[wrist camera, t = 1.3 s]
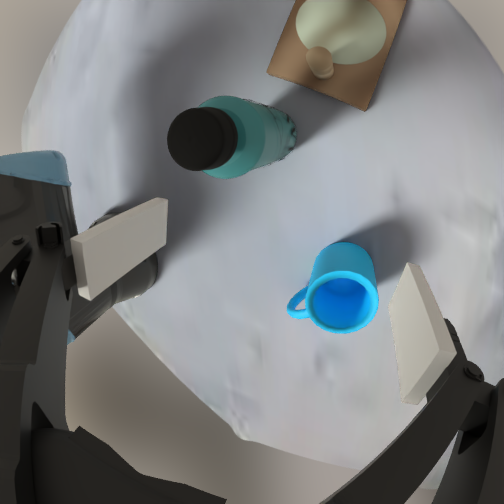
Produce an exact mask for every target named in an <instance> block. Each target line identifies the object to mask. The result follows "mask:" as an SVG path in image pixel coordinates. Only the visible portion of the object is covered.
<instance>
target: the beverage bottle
mask: <svg viewBox="0 0 504 504" xmlns="http://www.w3.org/2000/svg"><path fill="white" fill-rule="evenodd" d="M245 100H246V99H241V98H238V97H234V96H218V97H214V98H211V99H209V100H207V101H205V102H204V103H202V104H201V105H200V106H199V107H198V108H191V109H188V110H186V111H184V112H182V113H180V114H179V115H178V116H177V117H176V118H175V119H174V121H173V122H172V124H171V126H170V128H169V131H168V137H167V143H168V149H169V152H170V154H171V156H172V158H173V159H174V160H175V162H176V163H177V164H179V165H180V166H181V167H183V168H185V169H188V170H192V171H201V170H202V171H203V172H204V173H206V174H208V175H210V176H213V177H216V178H221V179H230V178H235V177H239V176H241V175H243V174H245V173H247V172H249V171H251V170H253V169H255V168H258V167H262V166H264V165H267V164H270V165H271V163H272V162H274V161H277V160H279V159H280V160H283V159H284V157H285V156H287V155H288V154H289V153H290V152H291V151H292V149H293V150H294V148H293V147H294V145H295V142H296V134H297V131H296V129H295V128H296V127H295V126H294V124H295V123H294V121H293V122H292V121H291V120H292V119H290V117H289V116H288V115H287V114H284V113H283V112H281V111H278V110H276V109H274V107H273V109H272V108H271V106H270V108H269V107H268V105H267V106H266V105H262V103H260V104H261V105H260V104H258V103H257V104H256V102H255V103H253V102H250V100H247V101H245ZM251 101H252V100H251ZM293 123H294V124H293ZM296 143H297V142H296ZM295 146H296V145H295ZM287 157H288V156H287ZM282 158H283V159H282ZM280 160H279V161H280ZM277 162H278V161H277Z"/></svg>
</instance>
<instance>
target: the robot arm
mask: <svg viewBox="0 0 504 504" xmlns="http://www.w3.org/2000/svg"><path fill="white" fill-rule="evenodd" d="M70 186H71V182H70V181H69V176H68V170H67V164H66V159H65V157H64V156H63V154H62V153H60V152H58V151H54V150H48V151H33V152H24V153H16V154H9V155H4V156H0V504H225V502H226V500H227V499H224V498H221V497H218V496H215V495H212V494H210V493H207V492H204V491H201V490H199V489H196V488H194V487H191V486H188V485H186V484H182V483H177V482H172V481H167V480H163V479H158V478H154V477H150V476H146V475H143V474H140V473H139V472H137V471H136V470H135V469H134V468H133V467H132V466H130V465H129V464H128V463H127V462H126V461H125V460H124V459H123V458H122V457H121V456H120V455H119V454H117V453H116V452H115V451H114V450H113V449H112V448H111V447H110V446H109V445H107V444H106V443H105V442H103V441H101V440H100V439H98V438H97V437H95V436H94V435H92V434H91V433H89V432H87V431H86V430H85V429H83V428H82V427H80V426H79V427H78V428H77V429H76V430H75V432H72V431H69V429H68V426H67V423H66V417H65V369H66V349H67V345H68V344H69V343H71V342H74V340H75V339H76V338H77V337H78V336H79V335H80V334H81V333H82V332H83V331H85V330H86V329H87V328H88V327H89V326H90V325H91V324H92V323H93V322H94V321H96V320H97V319H98V318H99V317H100V316H101V315H102V314H103V313H105V312H106V311H107V310H108V309H109V308H111V307H112V306H113V305H114V304H116V303H119V302H122V301H125V300H128V299H131V298H135V297H138V296H140V295H142V294H143V293H144V292H146V291H147V290H148V289H149V288H150V287H151V286H152V285H153V283H154V281H155V279H156V276H157V258H156V254H155V252H156V251H157V250H158V249H160V248H161V247H163V246H164V245H165V244H166V234H167V212H168V199H163V198H159V197H156V198H154V199H151V200H149V201H147V202H145V203H142V204H140V205H138V206H136V207H134V208H131V209H129V210H127V211H125V212H123V213H121V214H119V213H111V214H107V215H105V216H103V217H101V218H99V219H97V220H96V221H95V222H93V223H92V225H91V226H90V227H89V229H88V230H86V231H84V232H82V233H80V234H78V231H77V226H76V221H75V215H74V209H73V203H72V196H71V189H70ZM388 309H389V315H390V320H391V326H392V332H393V338H394V344H395V351H396V358H397V366H398V374H399V383H400V394H401V402H402V403H409V404H416V405H418V404H419V403H420V401H421V400H422V399H423V398H424V397H425V395H426V397H427V404H426V405H425V406H424V407H423V409H422V410H421V411H420V412H419V413H418V414H417V415H416V416H415V417H414V419H413V420H412V421H411V422H410V423H409V425H408V426H407V427H406V428H405V429H404V430H403V431H402V432H401V433H400V434H399V435H398V436H397V437H396V438H395V439H394V440H393V441H392V442H391V443H390V444H389V445H388V446H387V447H386V448H385V449H384V450H383V451H382V452H381V453H380V454H379V455H378V456H377V457H376V458H375V459H374V460H373V461H372V462H371V463H369V464H368V465H367V466H366V467H365V468H364V469H363V470H361V471H360V472H359V473H358V474H357V475H356V476H354V477H353V478H352V479H351V480H350V481H348V482H347V483H346V484H345V485H343V486H342V487H341V488H340V489H338V490H337V491H336V492H334V493H333V494H332V495H330V496H329V497H328V498H326V499H325V500H324V501H322V502H321V503H319V504H404V503H405V502H406V501H407V500H408V498H409V497H410V496H411V495H412V494H413V493H414V491H415V490H416V489H417V488H418V487H419V485H420V484H421V483H422V482H423V480H424V479H425V478H426V477H427V475H428V474H429V473H430V471H431V470H432V469H433V467H434V466H435V465H436V463H437V462H438V460H439V459H440V458H441V456H442V455H443V453H444V452H445V450H446V449H447V447H448V446H449V444H450V443H451V441H452V440H453V438H454V436H455V435H456V433H457V432H458V434H457V438H456V441H455V444H454V447H453V450H452V454H451V456H450V459H449V462H448V465H447V468H446V471H445V473H444V476H443V478H442V481H441V483H440V486H439V488H438V490H437V493H436V495H435V497H434V500H433V502H432V504H504V378H502V379H501V380H500V381H499V382H498V383H497V385H496V386H493V385H491V384H489V383H487V382H485V381H484V375H483V372H482V371H481V369H480V368H479V367H478V366H477V365H476V364H474V363H473V362H471V361H467V358H466V356H465V353H464V350H463V348H462V345H461V343H460V340H459V338H458V336H457V333H456V330H455V328H454V326H453V325H452V324H451V323H450V321H449V320H448V319H445V318H443V316H442V314H441V311H440V309H439V306H438V304H437V302H436V300H435V297H434V295H433V293H432V291H431V289H430V286H429V284H428V282H427V280H426V278H425V276H424V274H423V272H422V270H421V268H420V266H418V265H415V264H412V263H409V262H407V263H406V266H405V268H404V271H403V273H402V276H401V278H400V280H399V283H398V285H397V287H396V290H395V292H394V294H393V296H392V299H391V301H390V303H389V305H388ZM458 430H459V431H458Z"/></svg>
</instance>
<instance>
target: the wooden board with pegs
mask: <svg viewBox="0 0 504 504" xmlns="http://www.w3.org/2000/svg"><path fill="white" fill-rule="evenodd" d="M406 1H407V0H296V1H295V4H294V6H293V8H292V11H291V13H290V15H289V18H288V20H287V22H286V25H285V27H284V30H283V32H282V34H281V37H280V39H279V42H278V44H277V47H276V49H275V52H274V54H273V57H272V59H271V62H270V64H269V67H268V69H267V72H266V73H268V74H269V75H272V76H275V77H278V78H281V79H284V80H287V81H290V82H293V83H296V84H299V85H302V86H304V87H307V88H310V89H312V90H315V91H318V92H320V93H323V94H325V95H328V96H330V97H333V98H335V99H337V100H340V101H342V102H344V103H347V104H349V105H351V106H353V107H356V108H358V109H360V110H362V111H364V112H365V111H366V109H367V107H368V104H369V102H370V99H371V97H372V94H373V92H374V89H375V87H376V84H377V82H378V79H379V77H380V74H381V71H382V69H383V66H384V63H385V61H386V58H387V55H388V53H389V50H390V47H391V45H392V42H393V39H394V36H395V34H396V31H397V28H398V25H399V22H400V19H401V16H402V13H403V10H404V7H405V4H406Z"/></svg>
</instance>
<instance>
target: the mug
mask: <svg viewBox="0 0 504 504" xmlns="http://www.w3.org/2000/svg"><path fill="white" fill-rule="evenodd" d="M304 298H305V307H306V309H302V310H295V308H296V306H297V305H298V304H299V303H300V302H301V301H302V300H303V299H304ZM378 301H379V298H378V291H377V285H376V278H375V272H374V266H373V263H372V260H371V257H370V256H369V255H368V253H367V252H366V250H364V249H363V248H361V247H360V246H358V245H356V244H353V243H350V242H337V243H334V244H331V245H329V246H327V247H326V248H324V249H323V250H322V251H321V252H320V253H319V255H318V256H317V257H316V260H315V263H314V266H313V270H312V274H311V278H310V282H309V285H308V286H306V287H305V288H303V289H302V290H300V291H299V292H298V293H297V294H295V295H294V297H293V298H292V299H291V300H290V301H289V303H288V305H287V313H288V314H289V315H290V316H291V317H293V318H297V319H303V318H309V317H310V319H311V320H312V321H313V322H314V323H315V324H316V325H317V326H319V327H320V328H322V329H324V330H326V331H329V332H332V333H345V334H346V333H350V332H355V331H358V330H359V329H361V328H363V327H365V326H366V325H367V324H368V323H369V322H370V321H371V320H372V319H373V318H374V316H375V314H376V312H377V310H378Z"/></svg>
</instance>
